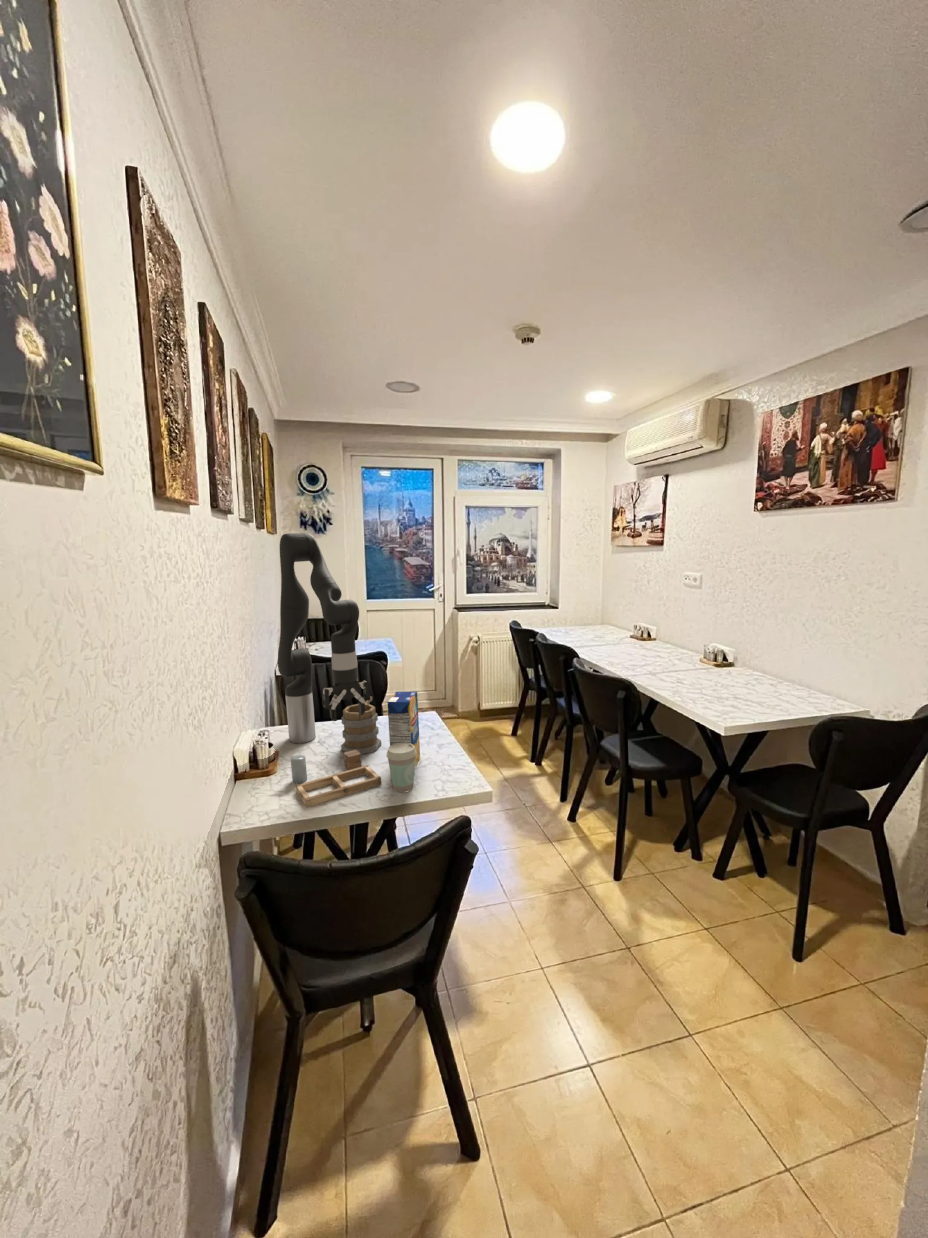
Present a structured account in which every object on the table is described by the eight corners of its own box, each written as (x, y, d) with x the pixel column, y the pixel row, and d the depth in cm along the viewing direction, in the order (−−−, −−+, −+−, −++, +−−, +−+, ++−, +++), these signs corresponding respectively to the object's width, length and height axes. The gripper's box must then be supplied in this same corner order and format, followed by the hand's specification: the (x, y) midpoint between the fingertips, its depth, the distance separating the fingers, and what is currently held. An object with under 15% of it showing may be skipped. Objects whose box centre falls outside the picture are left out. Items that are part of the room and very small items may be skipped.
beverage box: (391, 770, 152) (387, 702, 149) (399, 755, 163) (396, 691, 160) (413, 771, 151) (409, 702, 148) (420, 756, 162) (417, 691, 159)
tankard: (372, 755, 164) (370, 712, 162) (337, 754, 166) (333, 711, 164) (391, 733, 183) (388, 694, 181) (358, 732, 185) (356, 693, 183)
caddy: (296, 792, 140) (295, 785, 140) (367, 771, 152) (367, 765, 152) (307, 807, 132) (306, 800, 132) (381, 784, 144) (381, 777, 143)
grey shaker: (290, 779, 148) (288, 757, 147) (304, 775, 150) (303, 754, 149) (294, 785, 145) (292, 762, 144) (308, 781, 147) (307, 758, 146)
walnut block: (344, 767, 155) (343, 752, 154) (357, 764, 157) (355, 749, 157) (349, 772, 152) (348, 757, 151) (361, 769, 154) (360, 753, 153)
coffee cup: (405, 797, 135) (403, 756, 134) (382, 790, 140) (379, 750, 138) (424, 784, 142) (422, 745, 141) (401, 778, 147) (399, 739, 145)
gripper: (362, 660, 156) (365, 709, 158) (317, 667, 148) (321, 719, 151) (371, 664, 150) (374, 716, 152) (325, 672, 142) (329, 726, 144)
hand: (348, 717), depth 151 cm, fingers open, 8 cm apart
